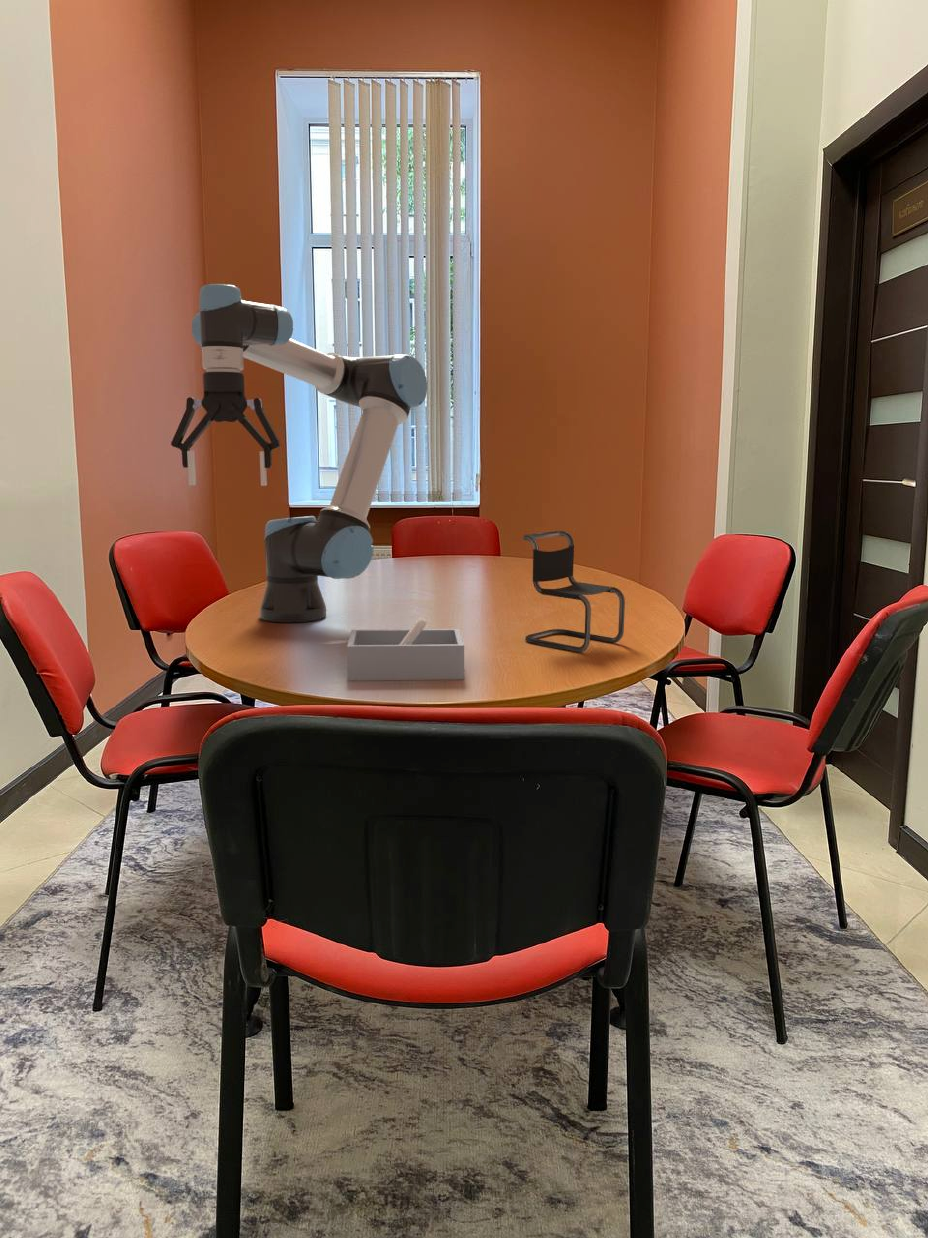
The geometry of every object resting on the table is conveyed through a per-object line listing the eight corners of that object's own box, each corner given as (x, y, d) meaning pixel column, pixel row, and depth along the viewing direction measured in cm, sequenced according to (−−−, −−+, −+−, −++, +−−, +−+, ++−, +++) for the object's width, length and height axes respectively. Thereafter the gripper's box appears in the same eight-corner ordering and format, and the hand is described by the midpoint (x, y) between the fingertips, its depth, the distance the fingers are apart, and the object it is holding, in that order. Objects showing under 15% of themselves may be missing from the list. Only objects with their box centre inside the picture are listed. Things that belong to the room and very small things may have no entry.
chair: (556, 632, 196) (558, 530, 192) (624, 644, 185) (628, 536, 180) (517, 641, 187) (519, 534, 183) (587, 655, 175) (590, 541, 171)
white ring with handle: (453, 647, 158) (421, 626, 156) (413, 698, 161) (381, 678, 159) (450, 629, 165) (418, 609, 162) (412, 678, 168) (380, 659, 166)
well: (352, 661, 169) (351, 629, 168) (459, 660, 170) (459, 628, 169) (347, 680, 155) (346, 646, 154) (464, 679, 157) (464, 645, 155)
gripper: (150, 369, 166) (157, 486, 171) (287, 370, 168) (291, 486, 172) (161, 372, 174) (167, 484, 178) (292, 373, 175) (295, 484, 180)
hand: (228, 485), depth 175 cm, fingers open, 13 cm apart
